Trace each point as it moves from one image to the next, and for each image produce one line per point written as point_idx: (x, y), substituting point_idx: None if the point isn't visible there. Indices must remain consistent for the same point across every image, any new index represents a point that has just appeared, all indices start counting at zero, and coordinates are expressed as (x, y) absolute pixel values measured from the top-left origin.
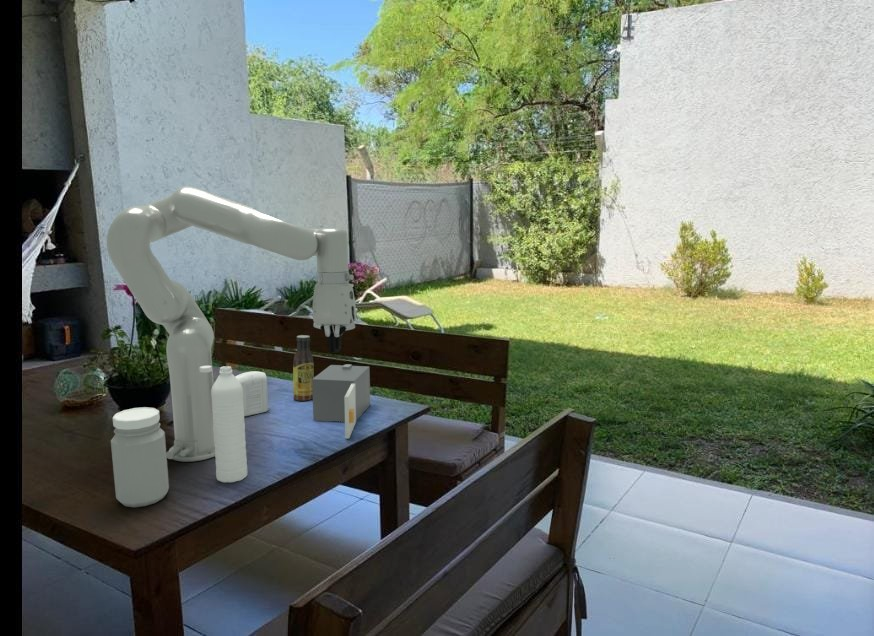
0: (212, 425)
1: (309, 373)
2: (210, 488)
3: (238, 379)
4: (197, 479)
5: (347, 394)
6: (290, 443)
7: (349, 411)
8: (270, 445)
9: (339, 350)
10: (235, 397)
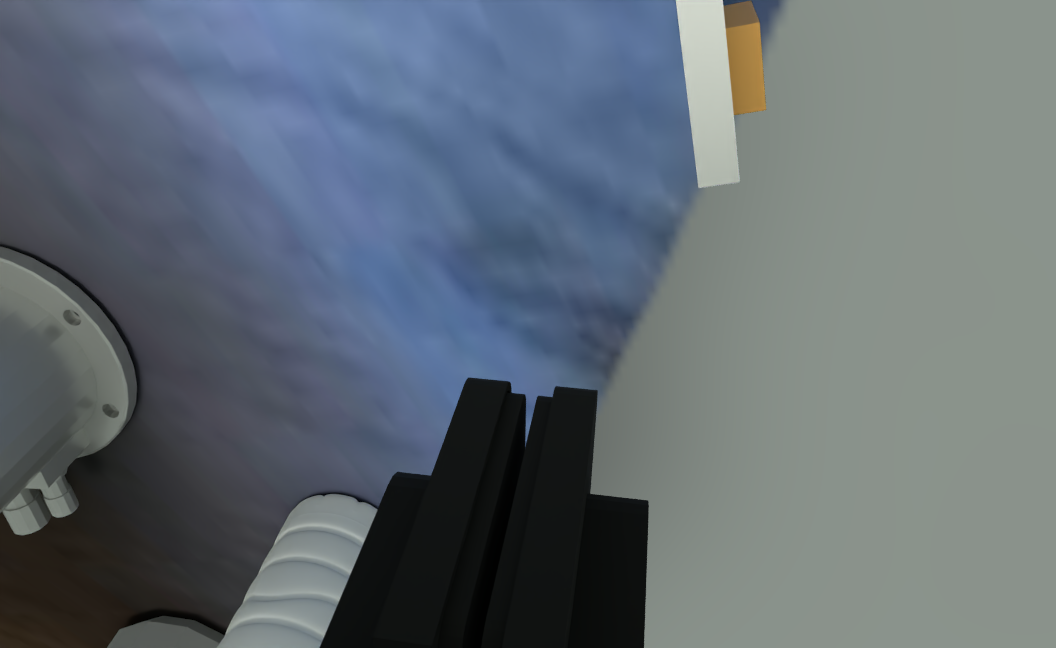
0: (11, 451)
1: None
2: None
3: None
4: (241, 556)
5: (709, 102)
6: (368, 180)
7: (734, 112)
8: (280, 225)
9: (596, 407)
10: None
